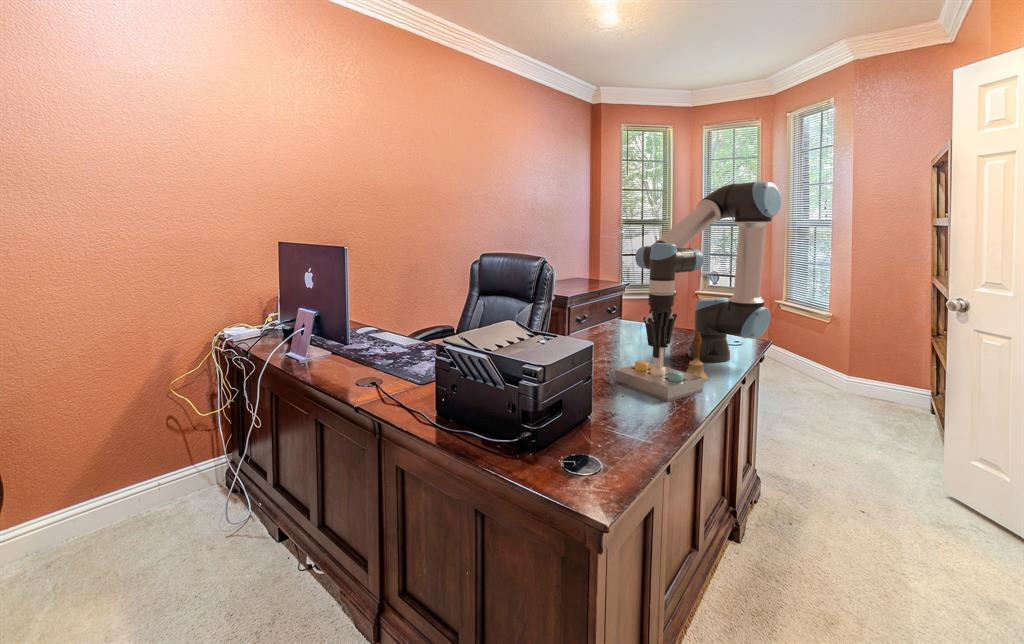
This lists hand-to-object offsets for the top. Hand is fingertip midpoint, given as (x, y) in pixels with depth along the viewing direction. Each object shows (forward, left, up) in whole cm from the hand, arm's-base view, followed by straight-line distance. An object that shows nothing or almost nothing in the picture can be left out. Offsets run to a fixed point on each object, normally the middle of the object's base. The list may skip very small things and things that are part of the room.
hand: (658, 366), depth 162 cm
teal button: (0, +7, -5) cm, 8 cm away
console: (0, 0, -7) cm, 7 cm away
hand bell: (-18, +1, -7) cm, 19 cm away
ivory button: (0, 0, -5) cm, 5 cm away
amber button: (0, -7, -5) cm, 8 cm away
